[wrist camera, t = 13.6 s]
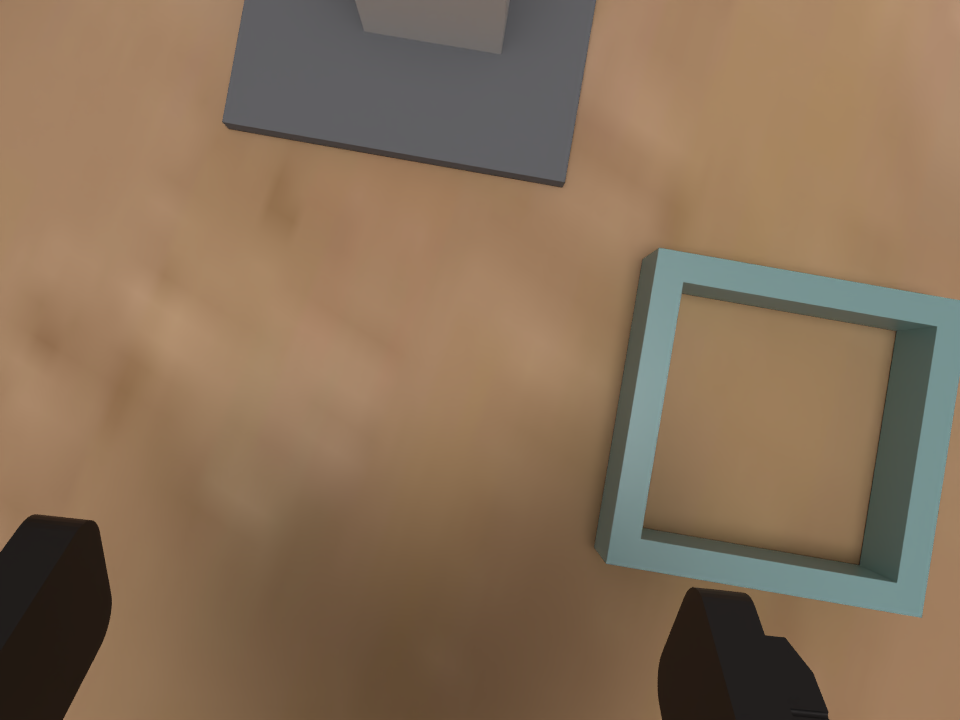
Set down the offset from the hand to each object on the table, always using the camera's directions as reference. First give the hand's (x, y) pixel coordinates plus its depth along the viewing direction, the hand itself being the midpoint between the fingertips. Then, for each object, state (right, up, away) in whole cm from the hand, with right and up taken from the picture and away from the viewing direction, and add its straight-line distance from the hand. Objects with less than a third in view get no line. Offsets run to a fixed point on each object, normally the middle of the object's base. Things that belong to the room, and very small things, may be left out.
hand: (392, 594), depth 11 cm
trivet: (0, +14, +12) cm, 19 cm away
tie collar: (+10, +1, +12) cm, 16 cm away
